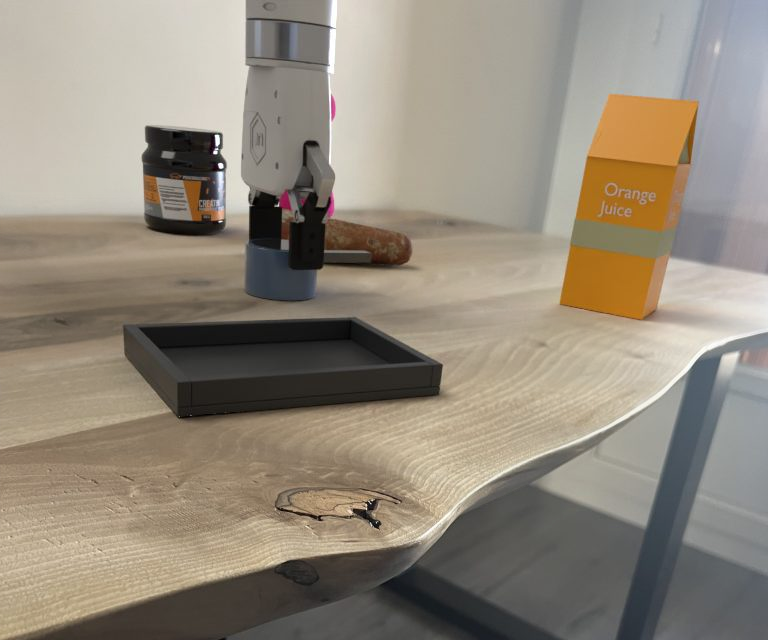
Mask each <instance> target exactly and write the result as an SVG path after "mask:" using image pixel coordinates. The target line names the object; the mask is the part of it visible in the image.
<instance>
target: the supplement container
mask: <svg viewBox="0 0 768 640" xmlns="http://www.w3.org/2000/svg"><path fill="white" fill-rule="evenodd" d="M144 142H145V143H146V144H147V147H146V148H145V149H144V151H143V152H142V153H141V163H142V180H143V183H142V184H143V210H144V212H143V220H144V222H145V224H146V225H147V226H148V227H149V228H151V229H153V230H155V231H160V232H162V233H163V232H165V233H170V234H177V235H178V234H179V235H196V236H199V235H204V236H205V235H215V234H219V233H221V232H222V231H223V230H224V229H225V228H226V225H227V217H226V213H227V211H226V209H227V206H226V205H227V204H226V203H227V169H228V162H227V160H226V159H225V157H224V155H223V154H222V150H223V149H224V133H223V132H221V131H218V130H212V129H204V128H198V127H197V128H195V127H187V126H175V125H161V124H160V125H159V124H147V125H145V126H144Z"/></svg>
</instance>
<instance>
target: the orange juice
mask: <svg viewBox="0 0 768 640" xmlns="http://www.w3.org/2000/svg"><path fill="white" fill-rule="evenodd" d="M699 103H700V101H699V100H686V99H677V98H665V97H652V96H643V95H641V96H639V95H630V94H629V95H628V94H618V93H617V94H616V93H609V94H608V97H607V100H606V102H605V104H604V108H603V110H602V114H601V116H600V119H599V122H598V125H597V127H596V130H595V133H594V135H593V139H592V141H591V144H590V147H589V149H588V152H587V154H586V158H585V159H586V160H585V165H584V171H583V174H582V175H583V176H582V181H581V187H580V191H579V197H578V203H577V208H576V213H575V217H574V221H573V226H572V232H571V237H570V243H569V245H570V246H569V249H568V250H569V251H568V256H567V261H566V266H565V272H564V277H563V283H562V288H561V293H560V299H559V304H558V305H562V306H568V307H572V308H579V309H583V310H588V311H594V312H598V313H603V314H610V315H615V316H620V317H625V318H630V319H635V320H639V321H642V320H644V319H645V318H646V317H648V316H649V315H650V314H652V313H653V312H655V311H656V310H657V309H658V305H659V301H660V297H661V293H662V288H663V284H664V279H665V276H666V271H667V268H668V264H669V260H670V255H671V252H672V249H673V245H674V240H675V237H676V232H677V228H678V222H679V217H680V214H681V210H682V205H683V201H684V197H685V193H686V189H687V184H688V180H689V175H690V172H691V168H692V156H693V148H694V141H695V135H696V126H697V118H698V111H699V110H698V109H699Z"/></svg>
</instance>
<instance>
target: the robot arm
mask: <svg viewBox="0 0 768 640" xmlns="http://www.w3.org/2000/svg"><path fill="white" fill-rule="evenodd" d="M337 13H338V0H245V39H244V40H245V41H244V42H245V43H244V44H245V48H244V49H245V50H244V51H245V52H244V53H245V55H244V57H245V59H244V60H245V63H244V65H245V66H247V67H248V69H247V70H248V71H247V78H246V83H245V92H244V102H243V115H242V131H241V132H242V135H241V136H242V137H241V155H240V157H241V158H240V177H241V180H242V181H243V183H244V184H245V185H246V186H247V187H249V191H248V194H247V202H248V204H249V206H248V240H253V239H281V237H282V207H279V201H280V198H281V195H283V194H284V192H285V190H286V189H287V193H288V197H289V201H290V205H291V209H292V212H293V216H294V220H295V222H290V226H289V259H288V266H289V268H291V269H293V270H317V271H320V270H322V269H323V268H324V263H325V262H324V245H325V224H326V223H327V222H328V212H327V211H328V209H329V207H330V205H331V202H332V201H331V193H332V192H333V189H334V186H335V181H336V173H335V171H334V169H333V168H332V166H331V159H332V158H331V157H332V155H331V154H332V122H331V97H330V93H331V82H330V81H331V80H330V79H331V78H330V75H333V74H334V73H335V55H336V38H337V37H336V35H337V30H336V29H337ZM301 199H306V201H305V203H304V205H302V201H301ZM252 205H254V206H252Z"/></svg>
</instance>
